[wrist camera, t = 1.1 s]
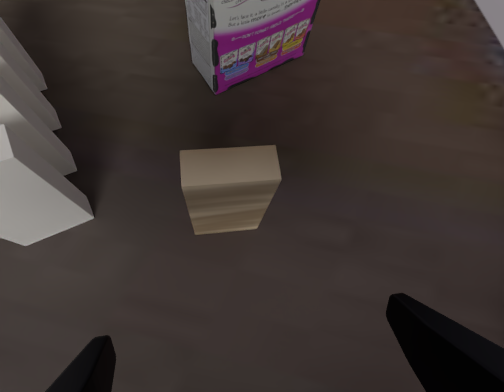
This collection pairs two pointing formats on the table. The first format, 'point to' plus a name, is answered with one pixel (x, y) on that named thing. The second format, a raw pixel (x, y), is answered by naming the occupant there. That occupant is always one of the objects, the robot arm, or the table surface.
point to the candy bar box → (246, 37)
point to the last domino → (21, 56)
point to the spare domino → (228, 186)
